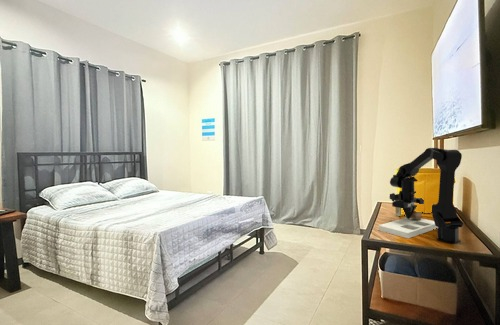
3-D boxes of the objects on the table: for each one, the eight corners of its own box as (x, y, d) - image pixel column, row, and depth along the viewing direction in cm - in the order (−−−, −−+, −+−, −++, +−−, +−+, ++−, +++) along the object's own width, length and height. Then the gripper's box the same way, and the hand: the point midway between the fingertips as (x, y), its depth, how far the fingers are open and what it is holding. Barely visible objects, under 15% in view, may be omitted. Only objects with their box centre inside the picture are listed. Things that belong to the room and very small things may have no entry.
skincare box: (406, 214, 153) (405, 194, 153) (409, 216, 149) (409, 196, 148) (394, 214, 154) (394, 195, 153) (398, 216, 150) (398, 196, 149)
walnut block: (420, 220, 133) (421, 212, 133) (415, 219, 131) (417, 211, 132) (412, 218, 137) (414, 211, 137) (408, 217, 135) (409, 210, 135)
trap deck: (440, 227, 128) (440, 222, 128) (408, 238, 115) (408, 233, 115) (410, 220, 141) (410, 216, 141) (378, 230, 127) (378, 225, 127)
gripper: (403, 185, 144) (403, 212, 145) (382, 189, 136) (382, 218, 136) (424, 188, 134) (424, 217, 135) (403, 192, 126) (403, 223, 126)
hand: (408, 218), depth 134 cm, fingers closed
